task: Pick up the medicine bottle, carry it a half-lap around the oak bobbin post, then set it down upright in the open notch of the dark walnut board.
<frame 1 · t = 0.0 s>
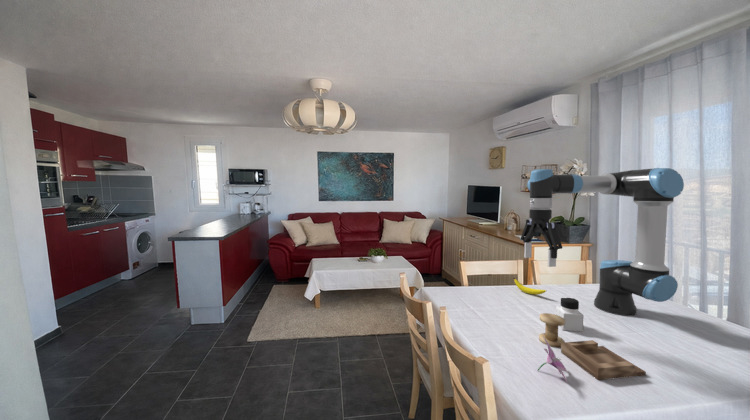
hand: (539, 261, 109), 28 cm above the table, fingers open, 13 cm apart
notched board: (600, 363, 89), on the table
banana: (528, 294, 149), on the table
bobbin: (551, 341, 102), on the table
lily: (553, 375, 84), on the table
medicine bottle: (568, 327, 113), on the table
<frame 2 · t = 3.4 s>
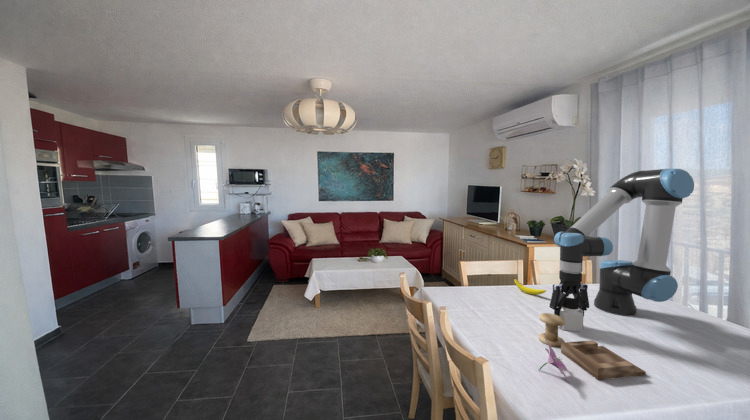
hand: (568, 324, 113), 1 cm above the table, fingers closed on medicine bottle, 8 cm apart
medicine bottle: (568, 327, 113), on the table, touching gripper
everything else where it was.
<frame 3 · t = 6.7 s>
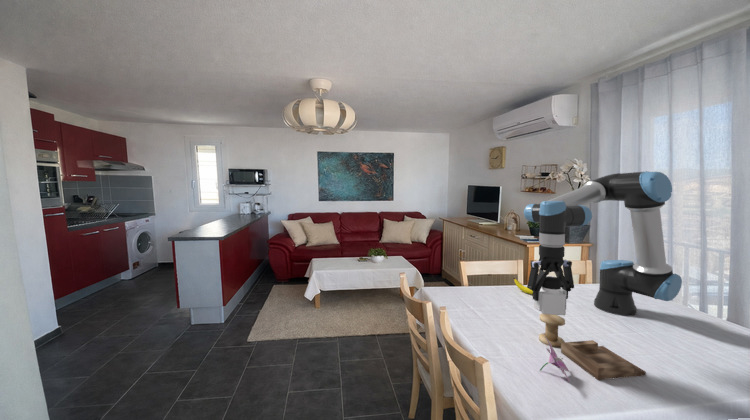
hand: (550, 308, 97), 15 cm above the table, fingers closed on medicine bottle, 8 cm apart
medicine bottle: (549, 311, 97), point 14 cm above the table, touching gripper
everything else where it was.
when the fingers open (4 cm above the table, at t = 10.4 s): medicine bottle drops 2 cm, resting on notched board.
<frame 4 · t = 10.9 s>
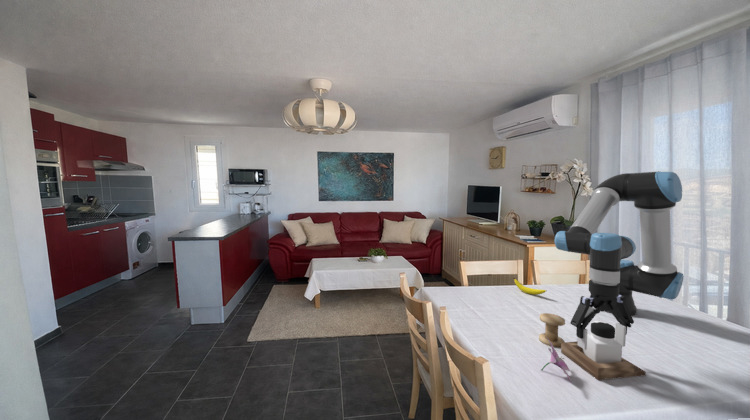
hand: (601, 345, 89), 6 cm above the table, fingers open, 13 cm apart
medicine bottle: (601, 360, 89), point 1 cm above the table, touching notched board
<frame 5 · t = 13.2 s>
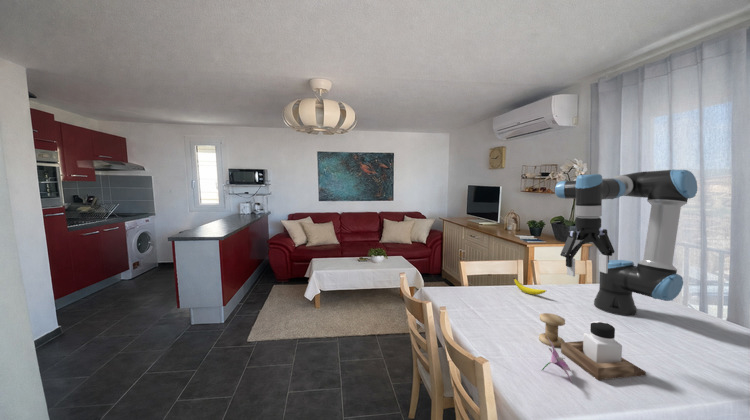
hand: (587, 273, 101), 25 cm above the table, fingers open, 13 cm apart
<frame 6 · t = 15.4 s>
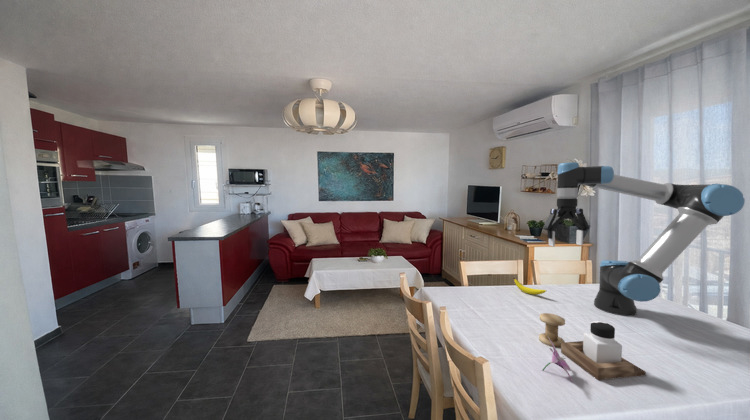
hand: (565, 245, 122), 32 cm above the table, fingers open, 13 cm apart
at the end: medicine bottle inside the target area on the notched board (0.2 cm from its centre), point 1.0 cm above the notched board's base; medicine bottle tilted 0°; the gripper is holding nothing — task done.
